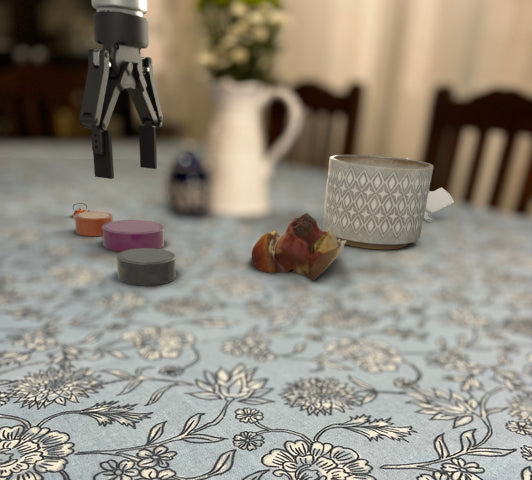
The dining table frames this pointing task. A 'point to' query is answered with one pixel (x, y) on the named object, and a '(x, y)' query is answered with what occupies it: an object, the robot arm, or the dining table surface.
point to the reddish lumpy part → (297, 249)
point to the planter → (376, 200)
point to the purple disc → (132, 235)
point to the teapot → (80, 209)
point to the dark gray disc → (146, 266)
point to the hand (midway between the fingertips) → (128, 172)
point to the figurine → (437, 200)
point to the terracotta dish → (91, 222)
